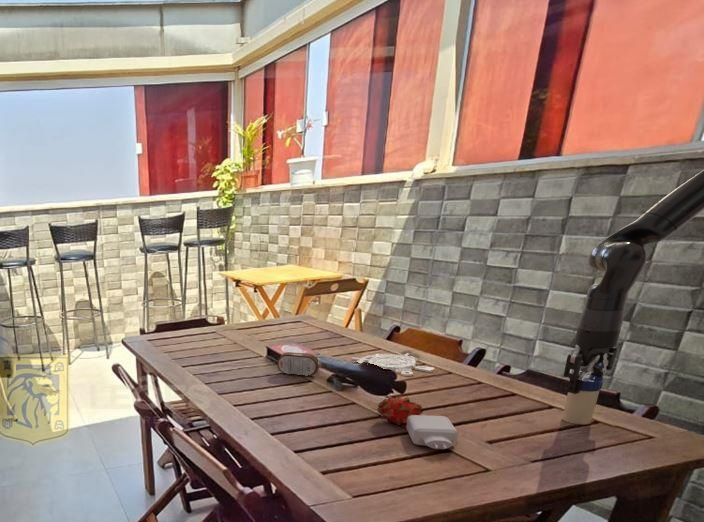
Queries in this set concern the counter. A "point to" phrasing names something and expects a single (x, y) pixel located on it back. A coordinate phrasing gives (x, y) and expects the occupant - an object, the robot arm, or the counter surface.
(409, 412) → the dragon fruit
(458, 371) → the counter surface
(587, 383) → the jar lid
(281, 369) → the tin
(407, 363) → the pendant
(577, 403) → the jar
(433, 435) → the charger
